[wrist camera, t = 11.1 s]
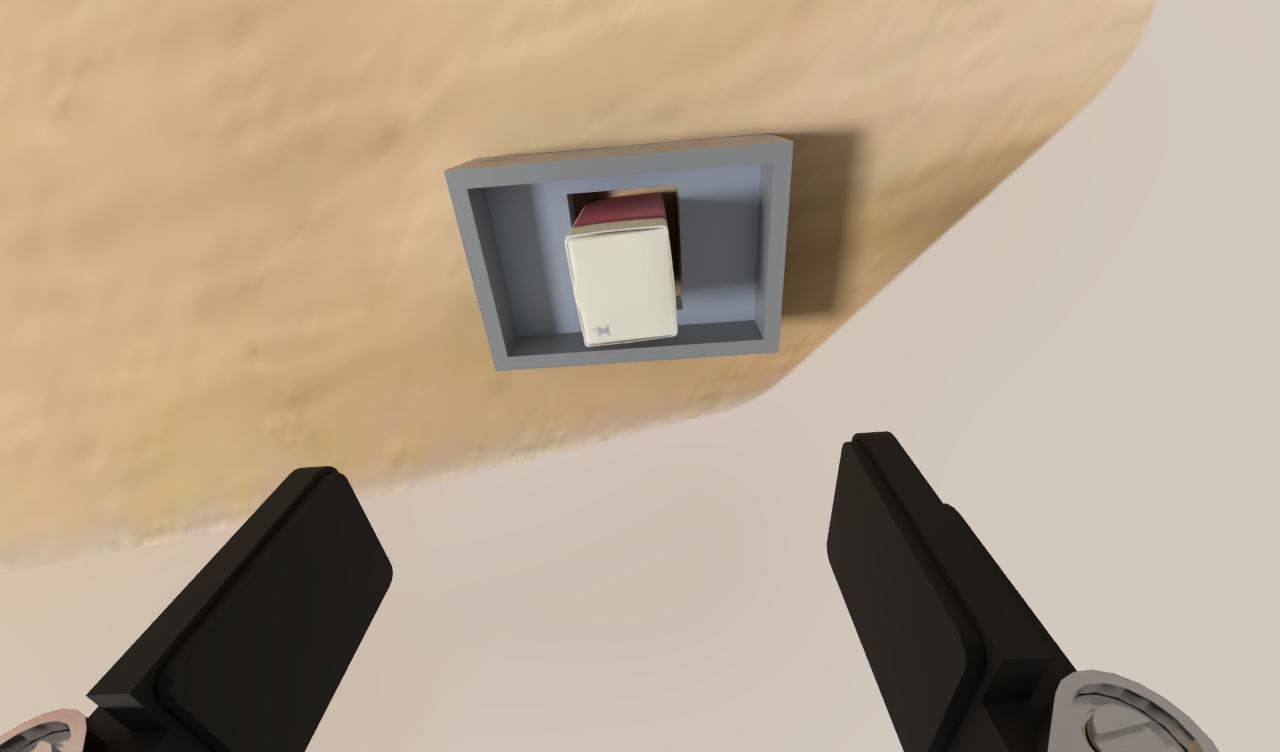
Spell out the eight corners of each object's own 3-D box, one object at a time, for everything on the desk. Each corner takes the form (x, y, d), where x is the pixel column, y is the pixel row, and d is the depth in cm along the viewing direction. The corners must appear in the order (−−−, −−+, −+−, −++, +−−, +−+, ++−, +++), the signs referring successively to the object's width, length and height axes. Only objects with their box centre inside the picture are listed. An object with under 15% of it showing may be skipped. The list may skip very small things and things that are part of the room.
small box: (671, 280, 28) (681, 339, 21) (598, 289, 29) (584, 350, 22) (663, 189, 26) (670, 223, 19) (582, 199, 26) (561, 236, 19)
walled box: (769, 133, 24) (793, 141, 20) (760, 317, 29) (778, 352, 25) (475, 158, 25) (444, 170, 21) (515, 335, 30) (496, 371, 26)
